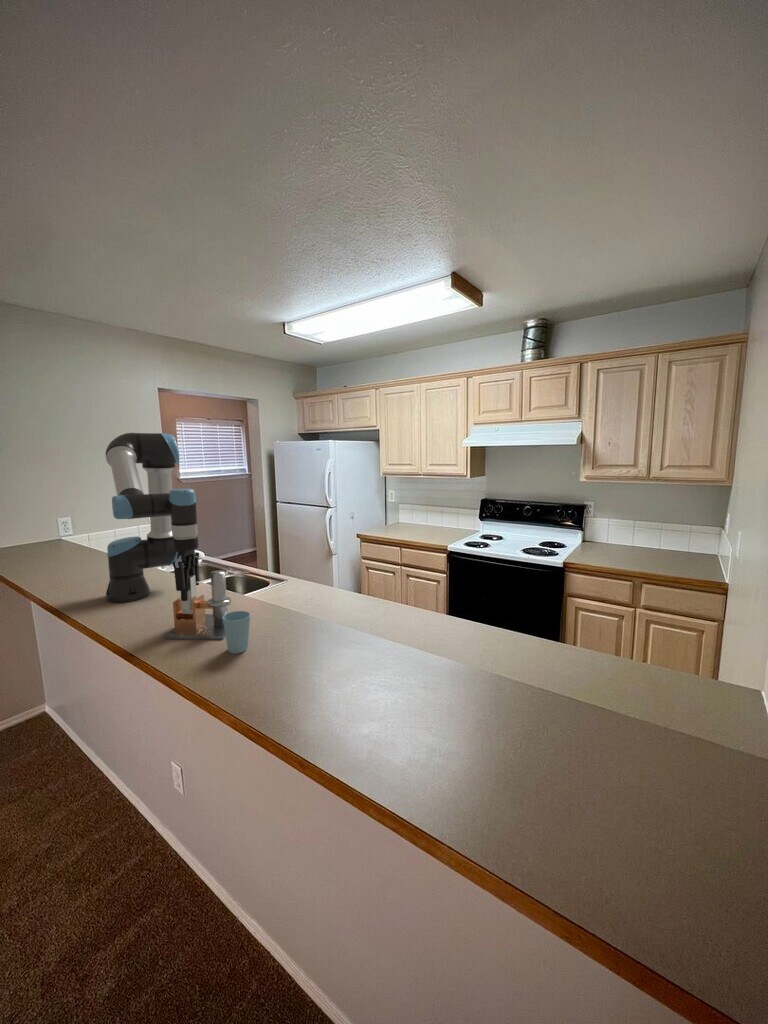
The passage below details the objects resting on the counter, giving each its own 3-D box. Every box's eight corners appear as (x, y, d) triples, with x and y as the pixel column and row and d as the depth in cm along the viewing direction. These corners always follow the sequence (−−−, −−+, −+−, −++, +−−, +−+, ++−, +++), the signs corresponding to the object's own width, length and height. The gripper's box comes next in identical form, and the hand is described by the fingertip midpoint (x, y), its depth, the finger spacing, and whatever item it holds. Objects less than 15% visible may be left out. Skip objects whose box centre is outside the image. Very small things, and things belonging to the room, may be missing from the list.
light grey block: (187, 609, 142) (184, 574, 140) (197, 610, 142) (195, 575, 140) (182, 613, 138) (179, 577, 137) (192, 613, 138) (190, 578, 137)
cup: (248, 641, 131) (247, 608, 129) (254, 651, 124) (253, 617, 123) (222, 646, 127) (220, 613, 126) (227, 657, 120) (225, 622, 119)
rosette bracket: (191, 616, 150) (188, 564, 147) (242, 617, 150) (240, 564, 147) (165, 638, 132) (161, 579, 130) (222, 639, 132) (219, 580, 129)
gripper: (185, 532, 145) (189, 598, 148) (159, 542, 128) (164, 616, 132) (207, 532, 145) (211, 598, 148) (184, 542, 128) (189, 617, 132)
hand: (189, 607), depth 140 cm, fingers closed on light grey block, 3 cm apart
